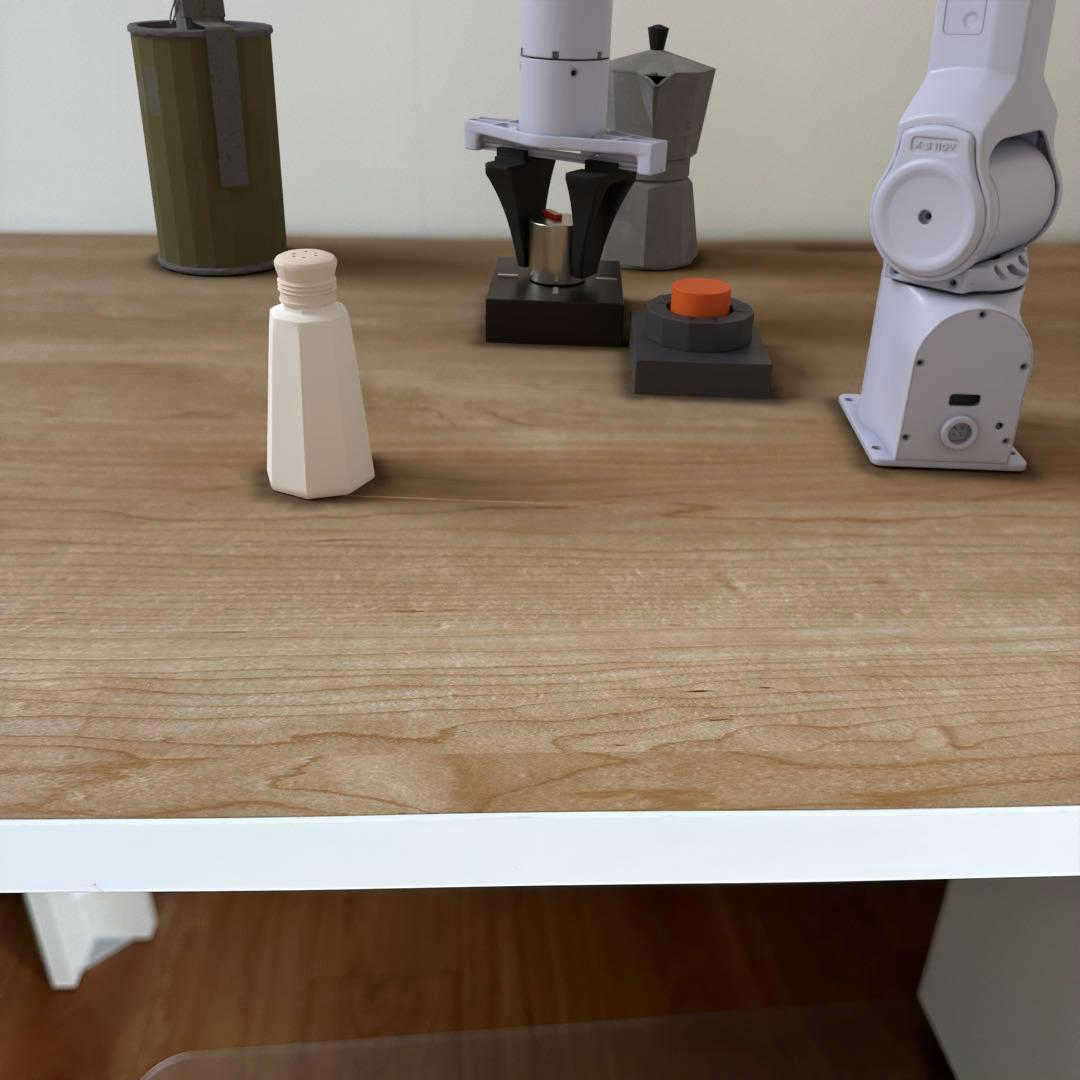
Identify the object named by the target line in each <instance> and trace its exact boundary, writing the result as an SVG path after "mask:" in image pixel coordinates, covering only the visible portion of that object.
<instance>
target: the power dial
mask: <svg viewBox="0 0 1080 1080" xmlns="http://www.w3.org/2000/svg"><path fill="white" fill-rule="evenodd" d="M542 213H543V214H538V215H534V216H532V217H530V219H529V259H528V277H529V279H530V280H532V281H534V282H537V283H540V284H546V285H558V286H563V285H573V284H578V283H581V282H583V281H584V280H585V279H586V278H584V279H578V278H574V277H573V269H572V248H573V221H572V213H567V212H566V213H563V212H558V211H556V210H553V209H551V208H546V209H543V212H542Z"/></svg>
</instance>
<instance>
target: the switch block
mask: <svg viewBox="0 0 1080 1080" xmlns="http://www.w3.org/2000/svg"><path fill="white" fill-rule="evenodd" d="M671 297H672V293H665V294H660V295H657V296H656V297H653V298H651V299H649V300H647V302H646V304H645V305H646V306H645V310H643V309H630V313H629V326H628V339H627V340H628V349H629V351H628V352H629V360H630V368H631V370H630V371H631V379H632V390H633V395H648V396H649V395H652V396H653V395H654V396H674V397H675V396H677V397H680V396H681V397H702V398H704V397H705V398H727V399H728V398H729V399H731V398H733V399H754V400H755V399H757V400H769V399H770V390H771V384H772V376H773V375H772V374H773V367H774V365H773V362H772V360H771V358H770V355H769V352H768V350H767V349H766V345H765V344H764V341H763V339H762V336H761V334H760V332H759V330H758V327H757V325H756V322H755V311H754V310H753V308H752V305H750V304H748V303H746V302H744V301H742V300H739V299H737V298H735V297H731V300H730V309H729V315H728V316H721V317H714V318H706V317H691V316H686V315H681V314H676V313H674V312H672V311H670V309H671Z"/></svg>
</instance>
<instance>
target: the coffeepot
mask: <svg viewBox="0 0 1080 1080" xmlns="http://www.w3.org/2000/svg"><path fill="white" fill-rule="evenodd" d="M647 32H648V44H649V49H647V50H644V51H640V52H635V53H632V54H628V55H625V56H621V57H617V58H614V59H610V68H609V87H608V107H607V126H606V128H607V129H612V130H616V131H621V132H625V133H630V134H634V135H639V136H643V137H648V138H654V139H661V140H667V141H668V143H667V156H666V169H665V172H662V173H659V174H655V175H652V176H647V175H640V174H638V173H637V176H636V181H635V182H634V184H633V185H632V187H631V189H630V190H629V192H628V194H627V195H626V197H625V199H624V201H623V202H622V204H621V206H620V208H619V210H618V212H617V214H616V216H615V219H614V221H613V223H612V226H611V228H610V231H609V234H608V236H607V239H606V242H605V245H604V249H603V252H602V256H601V259H600V260H605V261H620V268H622V269H630V270H640V271H641V270H643V271H662V270H672V269H673V270H674V269H678V268H683V267H686V266H688V265H690V264H692V263H693V262H694V259H695V258H696V257H698V256H699V250H698V237H697V226H696V225H697V223H696V211H695V199H694V198H695V197H694V183H693V181H692V180H691V178H690V177H689V176H690V170H691V169H690V167H691V158H693V157H694V156H695V155H696V154H698V149H699V145H700V140H701V135H702V131H703V127H704V122H705V119H706V114H707V110H708V105H709V101H710V97H711V92H712V87H713V83H714V79H715V76H716V75H715V74H716V72H717V69H716V67H713V66H710V65H707V64H704V63H702V62H699V61H696V60H693V59H690V58H687V57H685V56H682V55H679V54H676V53H673V52H670V51H668V50H665V47H666V43H667V39H668V35H669V32H670V27H668V26H666V25H663V24H659V23H658V24H656V23H655V24H654V25H650V26H648V27H647Z"/></svg>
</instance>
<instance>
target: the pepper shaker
mask: <svg viewBox="0 0 1080 1080" xmlns="http://www.w3.org/2000/svg"><path fill="white" fill-rule="evenodd" d="M274 266H275V268H274V269H275V271H276V274H277V278H276V281H277V283H276V285H277V290H278V291H279V297H278V300H279V304H276V305H274V306H273V307H271V308H270V309H269V320H268V361H267V362H268V364H267V365H268V367H267V368H268V371H267V430H266V431H267V432H266V433H267V435H266V436H267V439H266V443H267V444H266V472H267V475H268V479H269V483H270V487H271V489H272V490H273V491H276V492H279V493H284V494H287V495H290V496H295V497H297V498H301V499H305V500H312V499H321V498H331V497H339V496H347V495H350V494H352V493H354V492H355V491H357V490H358V489H359V488H361V487H362V486H364V485H365V484H367V483H369V482H370V481H372V480H374V478H375V477H376V474H375V468H374V462H373V457H372V456H373V455H372V449H371V443H370V436H369V431H368V424H367V417H366V412H365V411H366V410H365V406H364V399H363V393H362V386H361V379H360V373H359V367H358V366H359V365H358V361H357V360H358V359H357V354H356V348H355V341H354V335H353V330H352V324H351V319H350V315H349V312H348V310H347V308H346V307H345V304H343V303H342V302H341V301H337V299H338V296H337V294H336V293H337V292H336V290H337V288H338V286H337V284H338V282H337V276H336V270H337V266H338V258H337V257H336V256H335V254H333V253H331V252H328V251H326V250H322V249H317V248H295V249H289V251H286V252H283V253H281V254H279V255H277V256H276V258H275V259H274Z"/></svg>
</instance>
